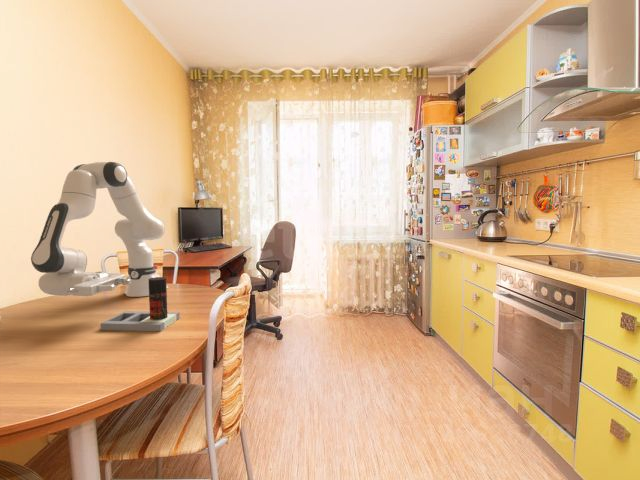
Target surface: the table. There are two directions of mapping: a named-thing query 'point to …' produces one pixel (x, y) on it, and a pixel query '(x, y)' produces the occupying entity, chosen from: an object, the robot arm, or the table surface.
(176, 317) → the board
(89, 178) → the robot arm
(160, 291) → the deodorant
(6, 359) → the table surface
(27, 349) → the table surface
